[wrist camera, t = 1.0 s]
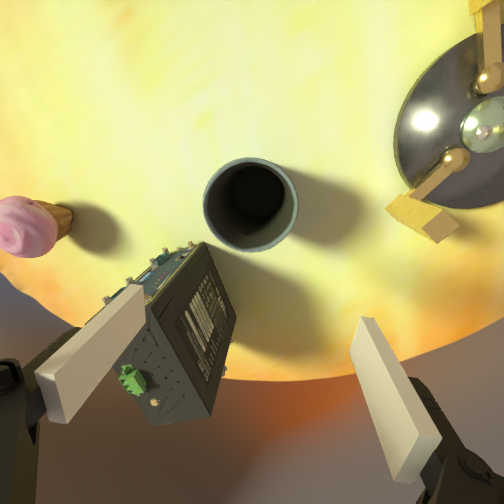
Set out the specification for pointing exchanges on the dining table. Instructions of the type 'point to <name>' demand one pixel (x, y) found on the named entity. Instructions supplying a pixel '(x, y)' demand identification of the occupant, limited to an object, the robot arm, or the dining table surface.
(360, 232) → the dining table surface
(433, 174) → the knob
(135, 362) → the router
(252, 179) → the grey cup
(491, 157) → the levelling plate
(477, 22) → the tan l-shaped bracket
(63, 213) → the cupcake
